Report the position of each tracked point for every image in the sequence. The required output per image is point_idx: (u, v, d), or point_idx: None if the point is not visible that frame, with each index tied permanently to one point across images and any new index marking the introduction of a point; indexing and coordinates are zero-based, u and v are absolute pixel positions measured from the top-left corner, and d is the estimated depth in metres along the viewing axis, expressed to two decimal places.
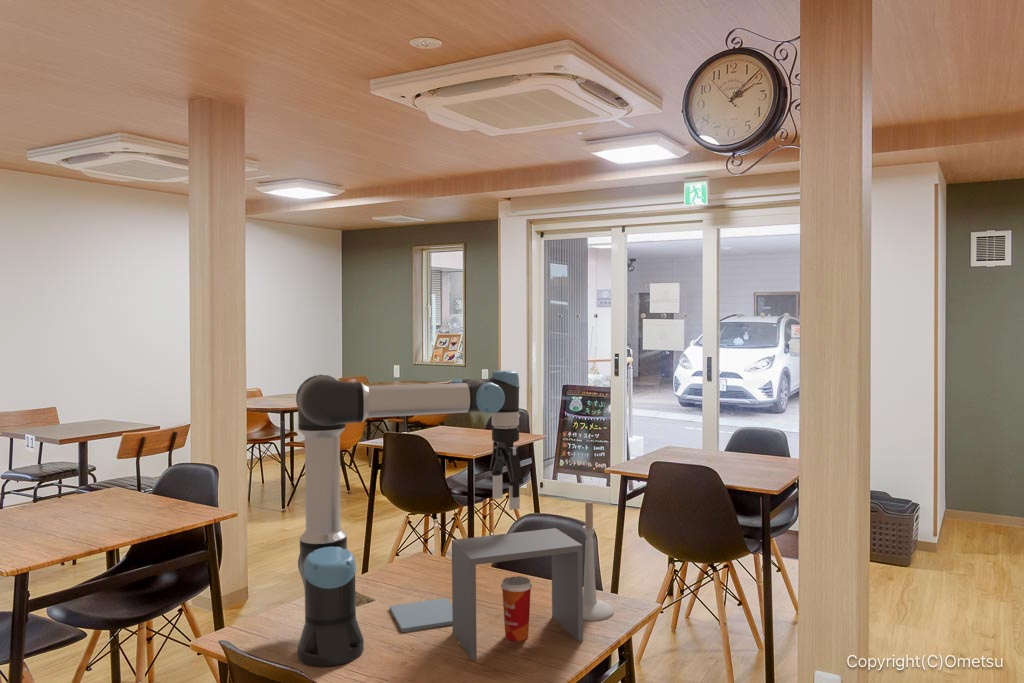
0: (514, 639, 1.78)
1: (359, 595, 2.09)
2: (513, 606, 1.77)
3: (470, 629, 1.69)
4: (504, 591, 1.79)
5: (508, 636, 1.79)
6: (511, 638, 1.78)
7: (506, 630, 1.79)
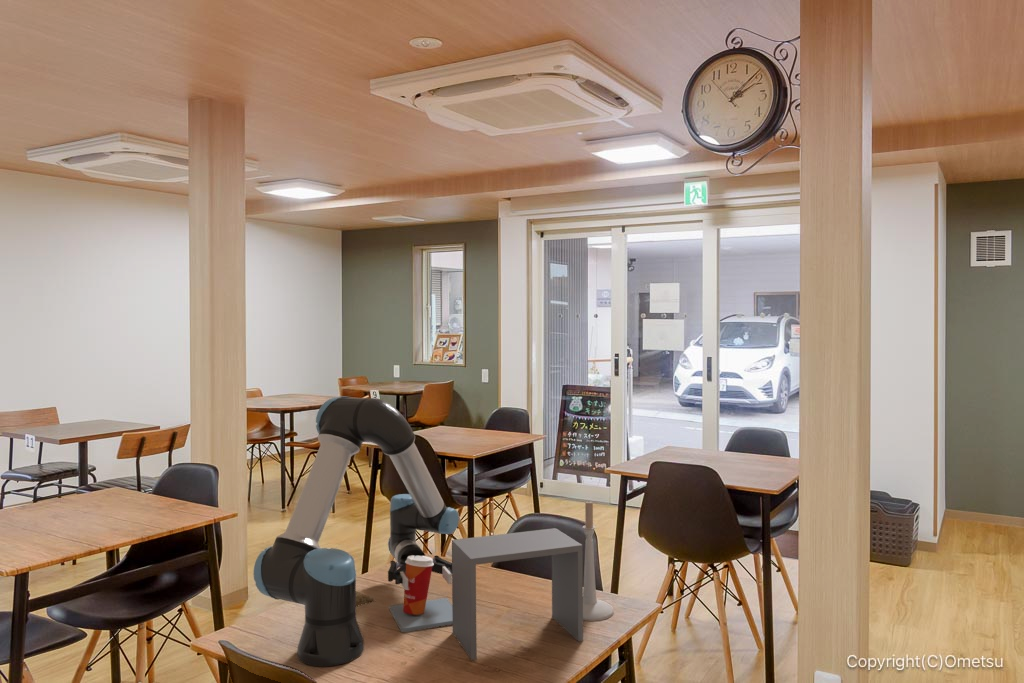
0: (410, 612, 1.91)
1: (359, 595, 2.09)
2: (413, 580, 1.91)
3: (470, 629, 1.69)
4: (407, 565, 1.93)
5: (405, 608, 1.92)
6: (407, 611, 1.91)
7: (404, 603, 1.92)
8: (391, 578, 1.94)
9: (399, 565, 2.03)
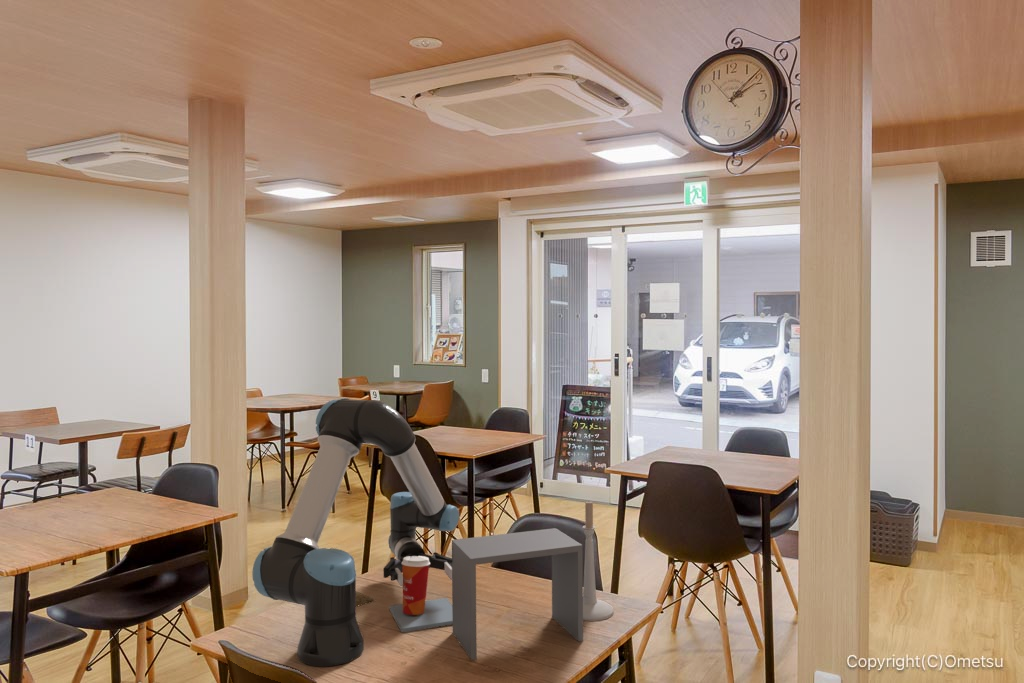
0: (409, 613, 1.91)
1: (359, 595, 2.09)
2: (410, 580, 1.91)
3: (470, 629, 1.69)
4: (403, 567, 1.93)
5: (404, 609, 1.92)
6: (407, 612, 1.91)
7: (403, 604, 1.92)
8: (386, 574, 1.96)
9: (398, 562, 2.05)
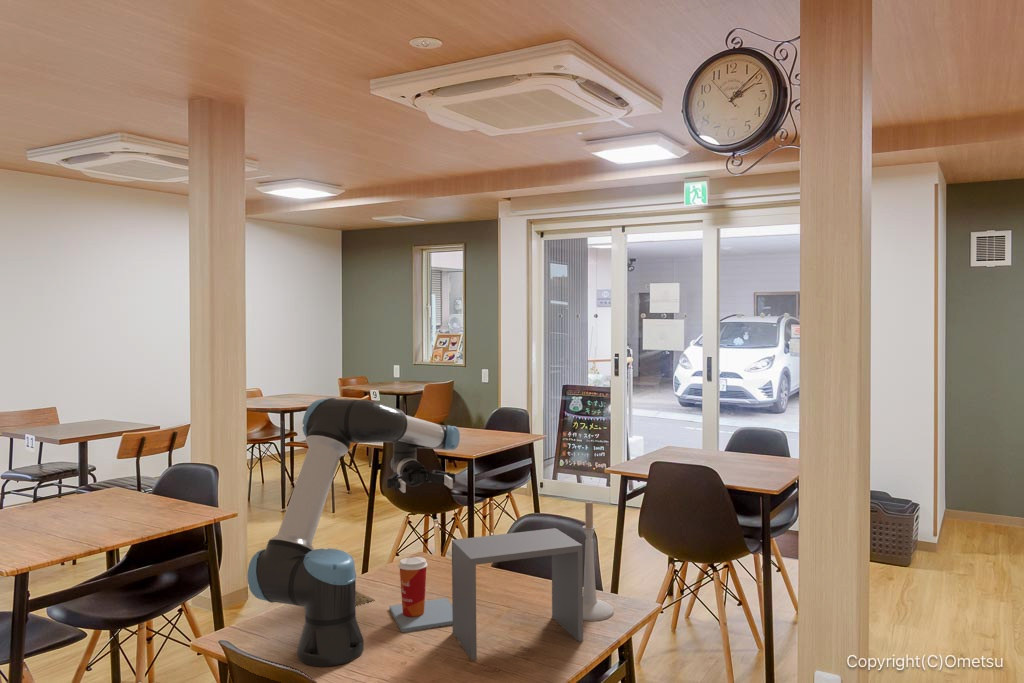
0: (409, 615, 1.91)
1: (359, 595, 2.09)
2: (408, 583, 1.90)
3: (470, 629, 1.69)
4: (400, 570, 1.92)
5: (404, 612, 1.92)
6: (406, 614, 1.91)
7: (402, 606, 1.92)
8: (389, 484, 2.09)
9: None
